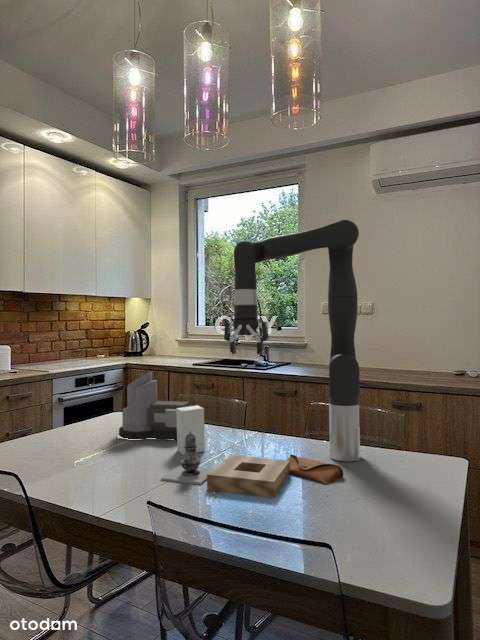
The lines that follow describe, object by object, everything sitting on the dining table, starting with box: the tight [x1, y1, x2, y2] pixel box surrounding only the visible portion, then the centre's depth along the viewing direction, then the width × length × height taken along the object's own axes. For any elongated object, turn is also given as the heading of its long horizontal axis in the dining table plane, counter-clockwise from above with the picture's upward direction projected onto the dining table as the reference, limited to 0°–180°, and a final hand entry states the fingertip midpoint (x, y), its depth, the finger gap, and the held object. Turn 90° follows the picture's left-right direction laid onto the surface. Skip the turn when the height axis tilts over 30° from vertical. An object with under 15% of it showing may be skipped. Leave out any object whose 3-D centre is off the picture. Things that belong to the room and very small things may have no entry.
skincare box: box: [176, 404, 206, 456], centre depth 155 cm, size 8×6×15 cm
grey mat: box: [160, 464, 215, 486], centre depth 131 cm, size 12×12×1 cm
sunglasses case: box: [286, 454, 344, 486], centre depth 132 cm, size 18×7×7 cm
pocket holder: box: [206, 454, 291, 499], centre depth 126 cm, size 18×18×4 cm
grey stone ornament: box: [179, 431, 202, 476], centre depth 131 cm, size 6×6×12 cm
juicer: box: [118, 371, 192, 440], centre depth 177 cm, size 30×16×24 cm, turn 79°
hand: (246, 354), depth 149 cm, fingers open, 8 cm apart
